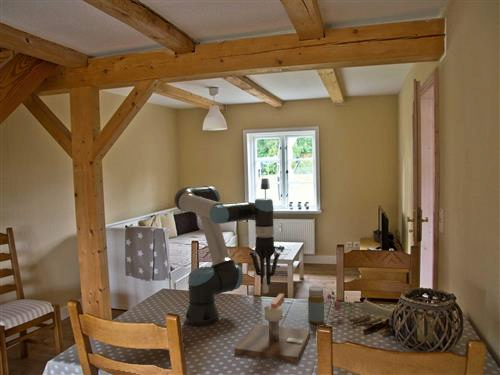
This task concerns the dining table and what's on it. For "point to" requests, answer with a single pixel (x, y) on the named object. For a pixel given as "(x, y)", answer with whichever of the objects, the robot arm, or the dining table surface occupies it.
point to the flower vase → (363, 307)
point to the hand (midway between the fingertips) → (265, 292)
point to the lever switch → (275, 309)
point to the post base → (273, 342)
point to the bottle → (316, 305)
